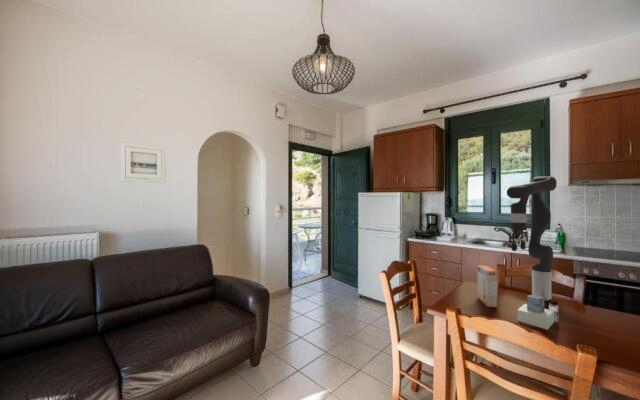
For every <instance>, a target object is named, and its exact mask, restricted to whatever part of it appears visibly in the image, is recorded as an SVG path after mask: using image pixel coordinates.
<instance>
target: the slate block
mask: <svg viewBox="0 0 640 400" xmlns="http://www.w3.org/2000/svg"><path fill="white" fill-rule="evenodd" d="M526 304H527V310H530V311H533V312H536V313H541V312H544V309H545V300H544V297H540V296H537V295H534V294H533V295H532V294H530V295H529V294H528V295H527V296H526Z"/></svg>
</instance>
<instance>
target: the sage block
mask: <svg viewBox="0 0 640 400" xmlns="http://www.w3.org/2000/svg"><path fill="white" fill-rule="evenodd" d="M517 321H518V322H521V323H524V324H527V325H530V326H534V327H537V328H540V329H544V330H546V331H548V330H549V329H550V327H551V326H553V324H554V323H555V311H554V310H553V309H547V308H544V312H541V313H536V312H533V311H530V310H527V303H524V304H523V305H522V306H520V307H519V308H518V309H517Z"/></svg>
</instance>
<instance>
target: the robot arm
mask: <svg viewBox="0 0 640 400" xmlns="http://www.w3.org/2000/svg"><path fill="white" fill-rule="evenodd" d="M557 185H558V184H557V179H556V177H554V176H549V175H548V176H535V177H533V178H532V181H531V182H526V183H523V184H515V185H511V186H510V187H508V188H507V190H506V196H508V197H509V198H510V199H519V201H517V202H513V203H511V204H510V216H509V217H510V218H509V219H510V222H509V223H510V224H509V225H510V226H509V228H510V230H512V231H511V232H508V243H509V244H511V251H512V252H517V250H518V245H517V243H518V242H520V246H519V247H520V249H521V250H526V243H527V242H528V241H529V243H528V250H527V251H528V255H529V256H530V257H531V258H533V259H537V260H539V263H533V264H532V265H531V295H533V294H534V295H537V296H540V297H544V302H545V301H546V302H547V301H549V300H550V299H551V300H552V268H553V263H554V260H553V259H554V250H553V247H552V246H550V245H548V244H547V245H546V244H541V240H542V239H541V238H542V236H543V235H544V233H545V232H546V230H548V228H549V226H551V220H552V218H551V217H552V212H551V210H550V209H549V207H548V206H547V205H546V203H545V202H544V201H543V198H542V195H541V194H542V192H552V191H554V190H556V188H557ZM530 195H532V207H531V220H530V222H531V225H530V235H529V231H528V230H527V229H528V217H527V205H528V201H529V198H530ZM529 236H530V237H529ZM551 300H550V301H551Z"/></svg>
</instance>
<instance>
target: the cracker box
mask: <svg viewBox="0 0 640 400" xmlns="http://www.w3.org/2000/svg"><path fill="white" fill-rule="evenodd" d="M477 299H478V300H479V301H480V302H481V303H483V305H484V306H485V307H487V308H498V271H497V270H495V269H493V268H492V267H490V266H488V265H483V264H482V265H481V264H480V265H479V264H478V265H477Z"/></svg>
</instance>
